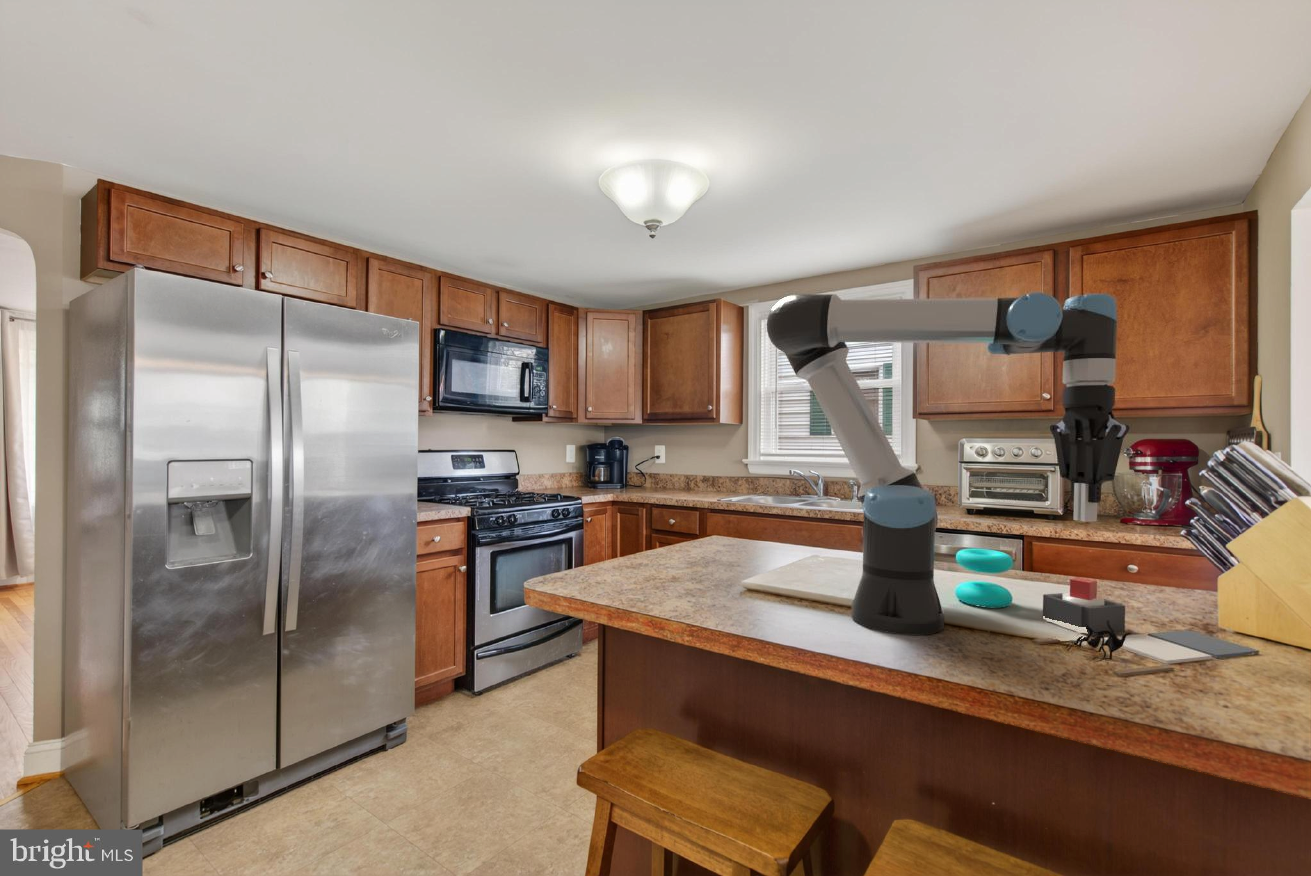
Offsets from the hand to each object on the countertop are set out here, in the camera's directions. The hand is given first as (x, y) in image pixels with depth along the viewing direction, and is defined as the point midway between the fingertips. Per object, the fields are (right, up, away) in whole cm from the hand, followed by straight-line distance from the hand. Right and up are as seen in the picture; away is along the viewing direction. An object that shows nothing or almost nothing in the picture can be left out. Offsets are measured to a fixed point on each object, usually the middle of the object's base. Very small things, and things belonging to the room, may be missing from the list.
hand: (1085, 520), depth 107 cm
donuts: (-10, -18, +14) cm, 25 cm away
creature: (-9, -19, -14) cm, 25 cm away
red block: (0, -16, 0) cm, 16 cm away
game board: (+1, -19, -7) cm, 20 cm away
